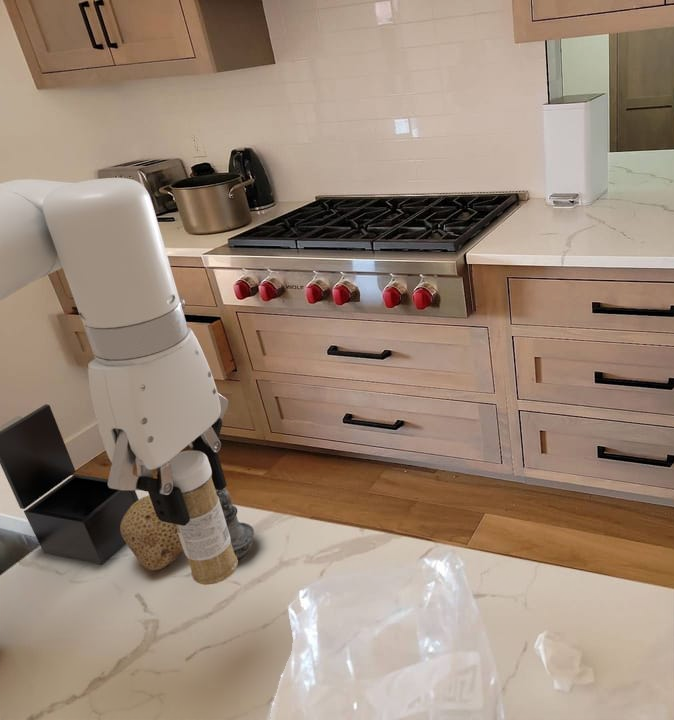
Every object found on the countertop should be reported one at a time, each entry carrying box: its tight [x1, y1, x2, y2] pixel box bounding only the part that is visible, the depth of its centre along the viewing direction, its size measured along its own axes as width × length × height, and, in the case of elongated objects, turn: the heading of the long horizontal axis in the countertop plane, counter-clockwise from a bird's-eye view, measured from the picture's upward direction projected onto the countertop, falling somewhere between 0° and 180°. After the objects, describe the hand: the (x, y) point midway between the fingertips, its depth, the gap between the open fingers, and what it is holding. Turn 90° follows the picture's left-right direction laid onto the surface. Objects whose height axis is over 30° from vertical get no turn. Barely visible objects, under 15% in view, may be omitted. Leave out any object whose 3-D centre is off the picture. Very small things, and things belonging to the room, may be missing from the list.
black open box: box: [23, 473, 140, 566], centre depth 93 cm, size 10×8×8 cm
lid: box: [0, 403, 77, 510], centre depth 91 cm, size 11×8×5 cm
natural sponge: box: [120, 495, 184, 571], centre depth 88 cm, size 9×9×10 cm
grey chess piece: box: [216, 488, 255, 560], centre depth 87 cm, size 6×6×12 cm
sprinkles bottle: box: [156, 449, 239, 586], centre depth 66 cm, size 5×5×14 cm
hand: (193, 501), depth 65 cm, fingers closed on sprinkles bottle, 4 cm apart
